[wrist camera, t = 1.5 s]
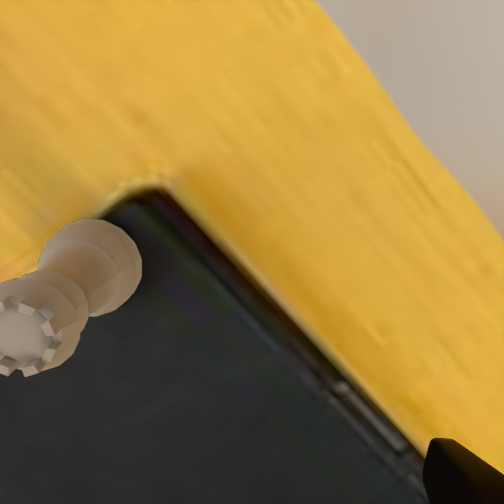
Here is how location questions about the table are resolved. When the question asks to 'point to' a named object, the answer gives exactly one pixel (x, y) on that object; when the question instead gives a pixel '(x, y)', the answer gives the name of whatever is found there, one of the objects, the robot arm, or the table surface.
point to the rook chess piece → (65, 294)
